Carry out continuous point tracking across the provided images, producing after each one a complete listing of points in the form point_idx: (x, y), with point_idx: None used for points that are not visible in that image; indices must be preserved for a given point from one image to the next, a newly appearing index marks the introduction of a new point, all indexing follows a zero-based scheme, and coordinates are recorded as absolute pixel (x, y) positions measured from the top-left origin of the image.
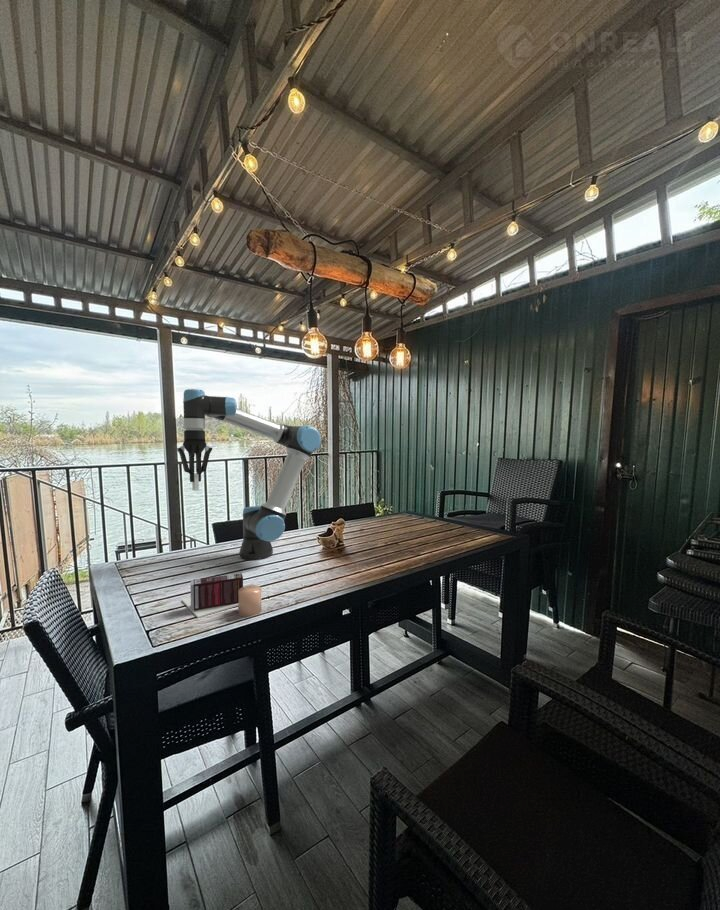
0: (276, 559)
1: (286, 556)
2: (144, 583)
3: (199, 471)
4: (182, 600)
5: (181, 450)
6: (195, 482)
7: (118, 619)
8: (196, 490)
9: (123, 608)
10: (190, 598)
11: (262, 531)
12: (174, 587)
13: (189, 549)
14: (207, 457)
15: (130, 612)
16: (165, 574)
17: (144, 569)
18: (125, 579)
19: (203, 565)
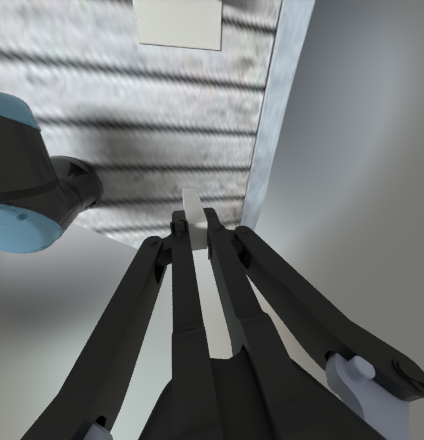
0: None
1: None
2: (234, 163)
3: (182, 232)
4: (219, 46)
5: (383, 360)
6: (197, 201)
7: (292, 52)
8: (190, 188)
9: (276, 90)
10: (209, 41)
11: (8, 94)
12: (212, 121)
13: None
14: (108, 328)
15: (276, 66)
16: (208, 179)
17: (221, 209)
18: (244, 189)
19: (160, 184)
